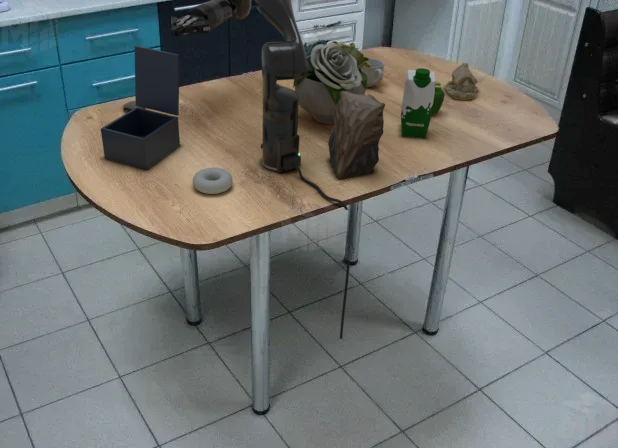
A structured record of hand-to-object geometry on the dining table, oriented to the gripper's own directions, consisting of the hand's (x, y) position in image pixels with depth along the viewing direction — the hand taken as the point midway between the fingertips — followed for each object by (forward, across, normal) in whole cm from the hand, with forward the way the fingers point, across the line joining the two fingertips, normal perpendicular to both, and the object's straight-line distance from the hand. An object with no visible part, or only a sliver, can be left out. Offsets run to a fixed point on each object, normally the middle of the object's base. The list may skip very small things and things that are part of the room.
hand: (172, 33), depth 181 cm
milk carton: (-30, +62, +28) cm, 75 cm away
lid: (+9, 0, +10) cm, 14 cm away
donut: (+25, +26, +28) cm, 46 cm away
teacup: (-58, +38, +28) cm, 75 cm away
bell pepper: (-46, +63, +28) cm, 83 cm away
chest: (+18, 0, +28) cm, 33 cm away
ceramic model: (-68, +68, +28) cm, 101 cm away
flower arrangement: (-27, +36, +28) cm, 53 cm away
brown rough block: (0, +53, +28) cm, 60 cm away
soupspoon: (+1, -13, +28) cm, 31 cm away
